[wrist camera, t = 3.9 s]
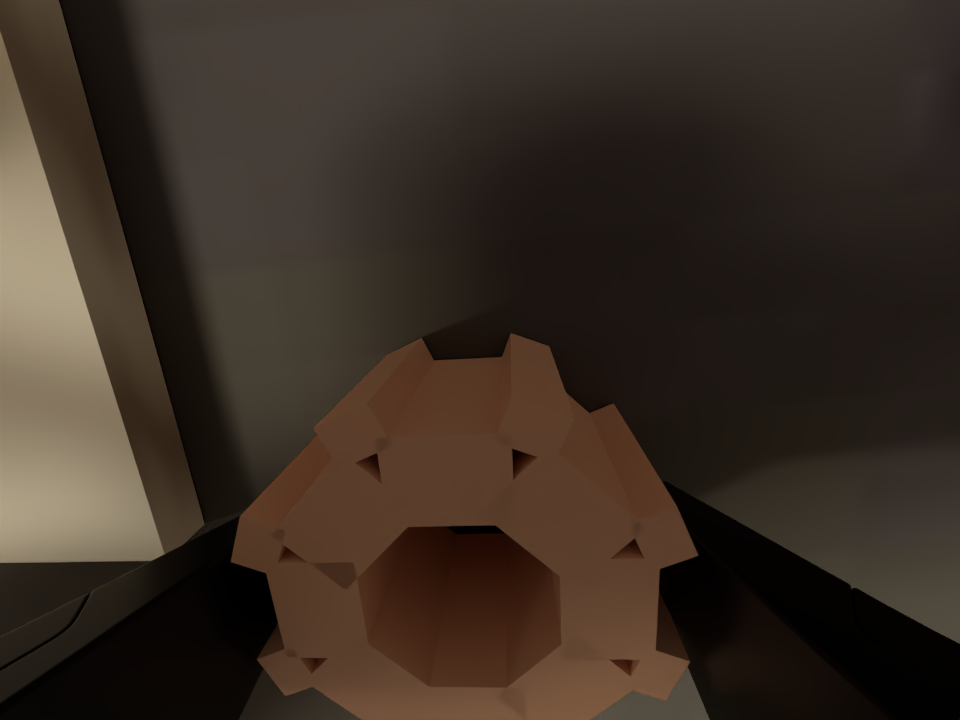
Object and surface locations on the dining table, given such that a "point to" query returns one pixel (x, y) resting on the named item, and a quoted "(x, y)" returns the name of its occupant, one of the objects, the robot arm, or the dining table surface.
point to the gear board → (74, 331)
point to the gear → (468, 548)
